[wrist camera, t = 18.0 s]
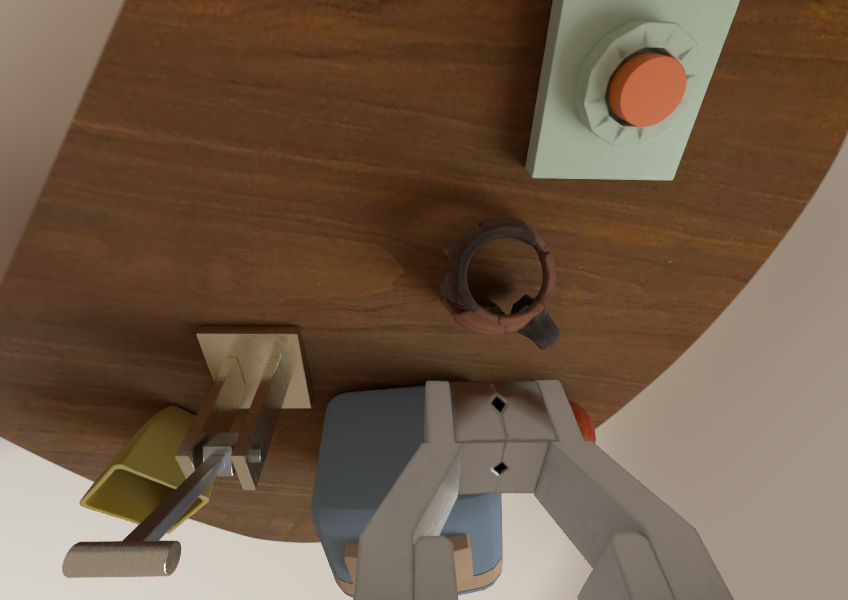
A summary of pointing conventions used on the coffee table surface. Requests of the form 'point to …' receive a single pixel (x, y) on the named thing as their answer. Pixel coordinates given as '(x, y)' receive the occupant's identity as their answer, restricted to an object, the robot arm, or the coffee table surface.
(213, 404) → the bracket
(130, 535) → the lever
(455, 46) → the coffee table surface
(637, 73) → the button
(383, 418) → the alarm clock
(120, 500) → the flower pot
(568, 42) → the button block
